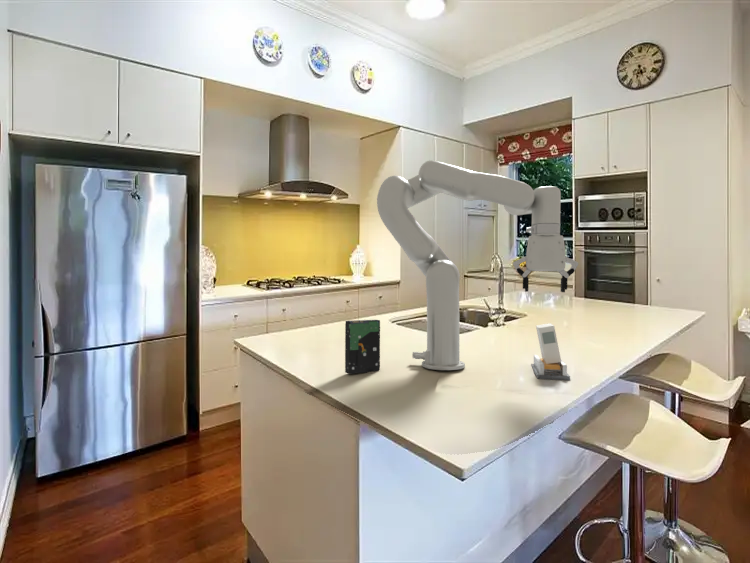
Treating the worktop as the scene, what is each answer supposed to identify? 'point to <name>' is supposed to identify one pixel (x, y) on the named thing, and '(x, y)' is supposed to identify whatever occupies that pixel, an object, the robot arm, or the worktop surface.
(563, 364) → the rail
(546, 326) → the block
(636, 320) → the worktop surface
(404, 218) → the robot arm
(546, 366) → the orange rectangular panel
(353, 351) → the disk drive
